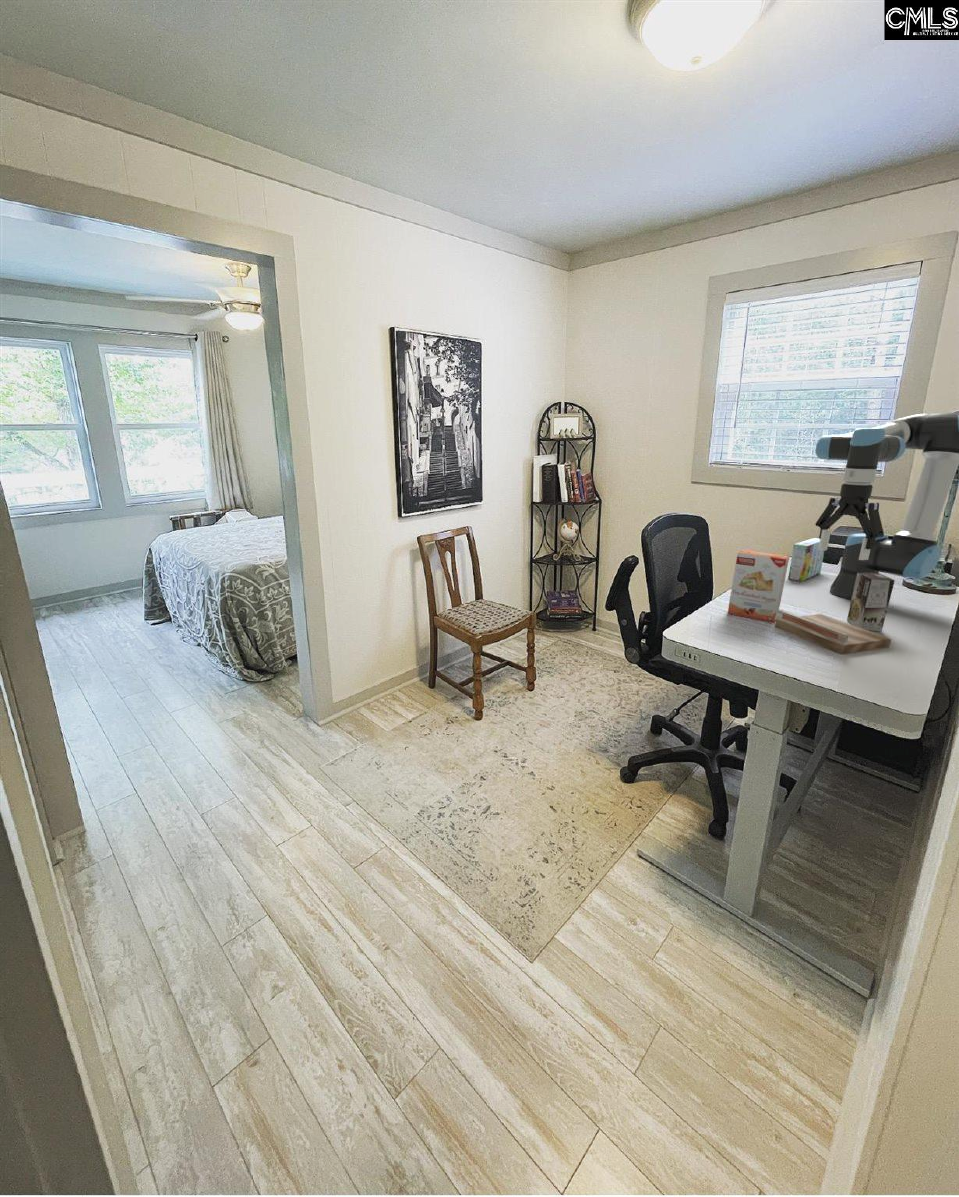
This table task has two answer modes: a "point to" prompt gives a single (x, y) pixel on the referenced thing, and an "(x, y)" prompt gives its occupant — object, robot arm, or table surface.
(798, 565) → the snack box
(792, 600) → the table surface
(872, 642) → the shelf board
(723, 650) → the table surface
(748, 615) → the cracker box
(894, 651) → the table surface
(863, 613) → the cookie box
